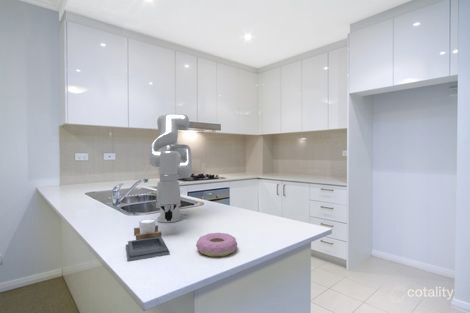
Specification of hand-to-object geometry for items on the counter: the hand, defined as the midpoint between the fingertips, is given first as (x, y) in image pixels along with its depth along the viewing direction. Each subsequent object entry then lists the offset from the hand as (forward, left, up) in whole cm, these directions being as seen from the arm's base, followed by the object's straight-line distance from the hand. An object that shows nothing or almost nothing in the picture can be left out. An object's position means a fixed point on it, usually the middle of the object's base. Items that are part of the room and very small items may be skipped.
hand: (168, 220), depth 115 cm
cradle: (+11, +15, -7) cm, 20 cm away
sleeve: (+9, -1, -6) cm, 11 cm away
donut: (-13, +25, -7) cm, 29 cm away
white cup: (+9, -1, -7) cm, 11 cm away
